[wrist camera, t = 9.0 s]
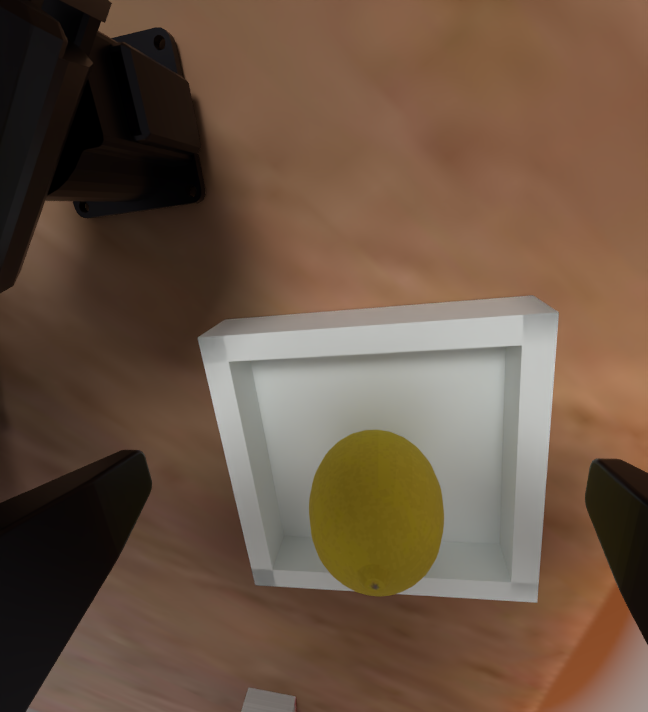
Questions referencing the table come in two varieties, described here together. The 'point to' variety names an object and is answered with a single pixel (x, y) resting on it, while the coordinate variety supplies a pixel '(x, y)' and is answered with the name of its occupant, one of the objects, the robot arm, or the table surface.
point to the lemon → (376, 513)
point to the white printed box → (268, 702)
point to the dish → (393, 428)
